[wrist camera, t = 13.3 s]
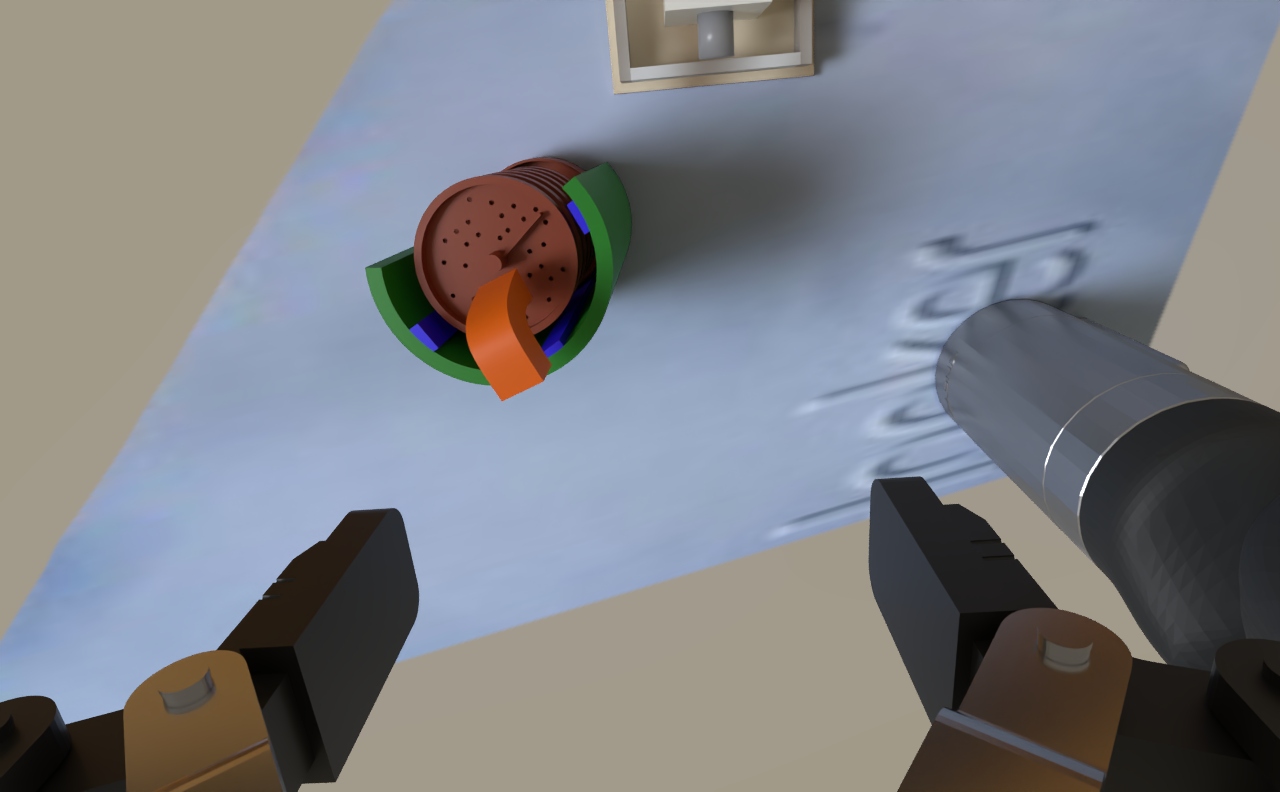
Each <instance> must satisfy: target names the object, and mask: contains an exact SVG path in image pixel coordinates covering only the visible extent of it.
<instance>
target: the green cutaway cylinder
mask: <svg viewBox="0 0 1280 792" xmlns="http://www.w3.org/2000/svg"><path fill="white" fill-rule="evenodd" d="M631 230H632V219H631V210H630V205H629V201H628V197H627V194H626V192H625V189H624V187H623V185H622V183H621V181H620V179H619V177H618V176H617V174H616V173H615V171H614V170H613V169H612V168H611V166H610V165H609V164H608V163H607V162H606V163H604V164H602V165H600V166H597V167H595V168H593V169H590V170H588V171H584V170H583V169H582V168H580V167H578V166H577V165H575V164H573V163H571V162H568V161H565V160H562V159H558V158H551V157H541V158H533V159H528V160H523V161H520V162H517V163H514V164H512V165H510V166H508V167H507V168H505V169H504V170H502V171H501V172H497V173H492V174H487V175H483V176H478V177H474V178H470V179H466V180H463V181H461V182H458V183H456V184H454V185H452V186H450V187H449V188H447V189H446V190H444V191H443V192H442V193H441V194H439V195H438V196H437V197H436V198H435V199H434V200H433V202H432V203H431V204H430V205H429V207H428V208H427V209H426V211H425V213H424V214H423V216H422V218H421V220H420V223H419V225H418V228H417V232H416V236H415V242H414V247H412V248H409V249H407V250H405V251H402V252H400V253H398V254H395V255H393V256H391V257H389V258H386V259H384V260H382V261H379V262H377V263H375V264H373V265H370V266H368V267H366V268H365V269H366V275H367V280H368V284H369V287H370V291H371V294H372V296H373V299H374V301H375V304H376V306H377V308H378V310H379V312H380V314H381V316H382V317H383V319H384V321H385V322H386V324H387V325H388V327H389V328H390V330H391V331H392V332H393V334H394V335H395V336H396V337H397V338H398V340H399V341H400V342H401V343H402V344H403V345H404V346H405V347H406V348H407V349H408V350H409V351H410V352H412V353H413V354H414V355H415V356H416V357H418V358H419V359H420V360H422V361H423V362H425V363H426V364H428V365H429V366H431V367H433V368H434V369H436V370H438V371H440V372H442V373H444V374H446V375H449V376H451V377H453V378H456V379H459V380H463V381H466V382H470V383H475V384H481V385H491V386H492V388H493V389H494V390H495V392H496V393H497V395H498V396H499V398H500V399H501V401H504V400H506V399H508V398H510V397H512V396H514V395H516V394H518V393H520V392H522V391H524V390H526V389H529V388H531V387H533V386H535V385H537V384H539V383H541V382H543V381H544V379H545V377H546V375H549V374H551V373H552V372H554V371H556V370H558V369H559V368H561V367H563V366H564V365H565V364H567V363H568V362H570V361H571V360H572V359H573V358H574V357H575V356H577V355H578V354H579V353H580V352H581V351H582V350H583V348H584V347H585V346H586V345H587V344H588V342H589V341H590V340H591V339H592V337H593V335H594V334H595V332H596V331H597V329H598V327H599V325H600V323H601V321H602V319H603V317H604V314H605V312H606V309H607V306H608V304H609V301H610V298H611V295H612V293H613V290H614V287H615V284H616V281H617V279H618V276H619V273H620V270H621V268H622V265H623V262H624V259H625V256H626V254H627V251H628V247H629V243H630V238H631ZM596 267H597V275H596V274H593V275H592V276H591V277H590V278H588V279H587V280H586V281H584V280H585V279H586V278H587V277H588V276H589V275H590V274H591V273H592V272H593V271H594V270H595V268H596ZM582 281H584V282H583V283H582V284H580V283H581V282H582ZM579 284H580V285H579Z"/></svg>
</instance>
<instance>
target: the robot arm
mask: <svg viewBox="0 0 1280 792" xmlns="http://www.w3.org/2000/svg"><path fill="white" fill-rule="evenodd" d="M935 379H936V390H937V394H938V397H939V400H940V403H941V404H942V406H943V408H944V409H945V411H946V413H947V414H948V415H949V416H950V417H951V418H952V419H953V420H954V421H955V422H956V423H957V424H958V425H959V426H960V427H961V428H962V429H963V431H964V432H965V433H966V434H967V435H968V436H969V437H970V438H971V439H972V440H973V441H974V442H975V443H976V444H977V445H978V446H979V447H980V448H981V449H982V450H983V451H984V452H985V453H986V454H987V455H988V456H989V458H990V459H991V460H992V461H993V462H994V463H995V464H996V465H997V466H998V467H999V468H1000V469H1001V470H1002V471H1003V472H1004V473H1005V474H1006V475H1007V476H1008V477H1009V478H1010V479H1011V480H1012V481H1013V482H1014V483H1015V484H1016V485H1017V486H1018V487H1019V488H1020V489H1021V490H1022V491H1023V492H1024V493H1025V494H1026V495H1027V496H1028V497H1029V498H1030V499H1031V500H1032V501H1033V502H1034V503H1035V504H1036V505H1037V506H1038V507H1039V508H1040V509H1041V510H1042V511H1043V512H1044V513H1045V514H1046V515H1047V516H1048V517H1049V518H1050V520H1051V521H1052V522H1053V523H1055V525H1056V526H1057V527H1059V529H1060V530H1061V531H1063V532H1064V533H1065V534H1066V535H1067V536H1068V537H1069V538H1070V539H1071V541H1072V542H1073V543H1074V544H1075V545H1077V547H1078V548H1079V549H1080V550H1081V551H1082V552H1083V553H1084V554H1085V555H1086V556H1087V557H1088V558H1089V559H1090V560H1091V561H1092V562H1093V563H1094V564H1095V565H1096V566H1097V567H1098V568H1099V569H1100V570H1102V572H1103V573H1104V574H1105V575H1106V576H1107V577H1108V578H1109V579H1110V580H1111V582H1112V583H1113V584H1114V585H1115V587H1116V589H1117V590H1118V591H1119V593H1120V595H1121V597H1122V598H1123V600H1124V602H1125V603H1126V605H1127V607H1128V609H1129V610H1130V612H1131V614H1132V616H1133V617H1134V619H1135V621H1136V622H1137V624H1138V626H1139V627H1140V628H1141V630H1142V632H1143V633H1144V635H1145V636H1146V638H1147V639H1148V640H1149V642H1150V643H1151V644H1152V646H1153V647H1154V648H1155V650H1156V651H1157V652H1158V654H1159V655H1160V656H1161V657H1162V658H1163V660H1164V661H1165V662H1166V663H1167V664H1162V663H1156V662H1150V661H1146V660H1141V659H1137V658H1133V657H1132V656H1131V653H1130V651H1129V649H1128V647H1127V646H1126V645H1125V643H1124V642H1123V641H1122V640H1121V639H1120V638H1119V637H1118V636H1117V635H1116V634H1115V633H1114V632H1112V631H1111V630H1109V629H1108V628H1107V627H1105V626H1103V625H1101V624H1100V623H1097V622H1096V621H1094V620H1092V619H1089V618H1087V617H1085V616H1082V615H1079V614H1076V613H1073V612H1069V611H1064V610H1059V609H1058V608H1057V607H1056V606H1055V605H1054V603H1053V602H1052V601H1051V600H1050V598H1049V597H1048V596H1047V595H1046V593H1045V592H1044V591H1043V590H1042V589H1041V587H1040V586H1039V585H1038V584H1037V583H1036V581H1035V580H1034V579H1033V578H1032V576H1031V575H1030V574H1029V573H1028V572H1027V570H1026V569H1025V568H1024V567H1023V565H1022V564H1021V563H1020V562H1019V561H1018V559H1014V554H1013V553H1012V552H1011V551H1010V549H1009V548H1008V547H1007V546H1006V545H1005V543H1001V539H1000V537H999V536H998V535H997V534H996V532H995V531H994V530H993V529H992V528H991V527H990V525H989V524H988V523H987V521H986V520H985V519H983V518H981V517H980V516H978V515H976V514H975V513H973V512H971V511H969V510H968V509H966V508H964V507H963V506H961V505H959V504H949V505H943V504H942V503H941V501H940V500H939V499H938V497H937V496H936V494H935V493H934V492H933V490H932V489H931V488H930V486H929V485H928V484H927V482H926V481H925V480H924V479H923V478H922V477H903V478H887V479H875V480H874V481H873V483H872V487H871V500H870V533H869V574H870V580H871V586H872V590H873V594H874V597H875V599H876V602H877V604H878V606H879V609H880V611H881V613H882V615H883V617H884V619H885V622H886V624H887V626H888V629H889V631H890V633H891V635H892V637H893V640H894V642H895V644H896V646H897V648H898V651H899V653H900V655H901V657H902V659H903V662H904V664H905V666H906V668H907V671H908V673H909V675H910V677H911V680H912V682H913V684H914V686H915V688H916V691H917V693H918V695H919V697H920V700H921V702H922V704H923V706H924V708H925V711H926V713H927V715H928V717H929V720H930V722H931V724H932V726H931V728H930V730H929V731H928V733H927V736H926V737H925V739H924V741H923V743H922V745H921V747H920V749H919V751H918V753H917V754H916V756H915V758H914V760H913V762H912V764H911V766H910V768H909V770H908V772H907V774H906V776H905V777H904V779H903V781H902V783H901V785H900V787H899V789H898V791H897V792H1280V412H1277V411H1275V410H1273V409H1271V408H1269V407H1266V406H1264V405H1261V404H1259V403H1257V402H1255V401H1253V400H1251V399H1249V398H1247V397H1244V396H1242V395H1240V394H1238V393H1236V392H1234V391H1231V390H1229V389H1227V388H1225V387H1223V386H1221V385H1218V384H1216V383H1215V382H1212V381H1210V380H1208V379H1205V378H1203V377H1201V376H1199V375H1197V374H1194V373H1192V372H1190V371H1189V368H1188V367H1187V365H1186V364H1184V363H1183V362H1181V361H1178V360H1176V359H1174V358H1172V357H1170V356H1168V355H1165V354H1163V353H1161V352H1159V351H1157V350H1154V349H1152V348H1150V347H1148V346H1146V345H1144V344H1141V343H1139V342H1137V341H1135V340H1133V339H1130V338H1128V337H1126V336H1124V335H1122V334H1119V333H1117V332H1115V331H1113V330H1111V329H1109V328H1106V327H1104V326H1102V325H1100V324H1098V323H1095V322H1093V321H1091V320H1089V319H1087V318H1076V317H1074V316H1072V315H1070V314H1067V313H1065V312H1063V311H1061V310H1059V309H1057V308H1055V307H1052V306H1050V305H1047V304H1044V303H1042V302H1039V301H1032V300H1025V299H1023V300H1008V301H1004V302H1000V303H997V304H993V305H990V306H988V307H986V308H984V309H982V310H980V311H978V312H976V313H975V314H973V315H972V316H971V317H969V318H968V319H966V320H965V321H964V322H963V323H962V324H961V325H960V326H959V327H958V328H957V329H956V330H955V331H954V332H953V333H952V334H951V336H950V337H949V339H948V340H947V342H946V344H945V345H944V347H943V349H942V352H941V354H940V357H939V359H938V362H937V368H936V374H935ZM418 606H419V589H418V583H417V578H416V574H415V570H414V565H413V561H412V556H411V552H410V548H409V543H408V539H407V534H406V530H405V526H404V522H403V518H402V516H401V514H400V512H399V511H398V510H397V509H395V508H388V509H372V510H356V511H351V512H349V513H348V514H347V515H346V516H345V517H344V519H343V520H342V521H341V522H340V524H339V525H338V526H337V527H336V529H335V530H334V531H333V532H332V534H331V535H330V536H329V537H328V538H327V540H326V541H319V542H318V543H316V544H315V545H313V546H312V547H310V548H309V549H308V550H306V551H305V552H303V553H302V554H300V555H299V556H297V557H296V558H294V559H293V560H292V561H291V563H290V564H289V565H288V566H287V567H286V568H285V570H284V571H283V572H282V573H281V574H280V576H279V577H278V578H277V582H276V583H273V584H272V585H271V586H270V587H269V589H268V590H267V591H266V592H265V593H264V594H263V599H262V600H258V602H257V603H256V604H255V605H254V606H253V607H252V609H251V610H250V611H249V612H248V613H247V615H246V616H245V617H244V618H243V619H242V620H241V622H240V623H239V624H238V625H237V626H236V628H235V629H234V630H233V631H232V632H231V633H230V635H229V636H228V637H227V638H226V639H225V641H224V642H223V643H222V644H221V645H220V646H219V648H218V649H217V650H215V651H208V652H202V653H199V654H195V655H192V656H189V657H186V658H183V659H181V660H179V661H176V662H174V663H172V664H170V665H168V666H166V667H164V668H163V669H161V670H159V671H158V672H156V673H155V674H153V675H152V676H150V677H149V678H148V679H147V680H145V681H144V682H143V683H142V684H141V685H140V686H139V687H137V689H136V690H135V691H134V692H133V693H132V694H131V696H130V697H129V699H128V700H127V702H126V704H125V707H124V709H122V710H119V711H115V712H111V713H107V714H104V715H100V716H96V717H92V718H89V719H85V720H81V721H77V722H73V723H70V724H66V725H65V723H64V721H63V719H62V717H61V715H60V712H59V710H58V708H57V706H56V704H55V702H54V701H53V700H52V699H50V698H48V697H44V696H26V697H19V698H15V699H11V700H7V701H4V702H1V703H0V792H298V790H299V788H300V786H301V784H305V783H329V782H336V780H337V778H338V776H339V774H340V772H341V770H342V768H343V766H344V764H345V762H346V760H347V758H348V756H349V754H350V752H351V750H352V748H353V746H354V744H355V742H356V740H357V738H358V736H359V734H360V732H361V730H362V728H363V726H364V724H365V722H366V720H367V718H368V716H369V714H370V712H371V710H372V708H373V706H374V703H375V702H376V700H377V697H378V696H379V693H380V691H381V689H382V687H383V685H384V683H385V681H386V679H387V677H388V675H389V673H390V671H391V669H392V667H393V665H394V663H395V661H396V659H397V657H398V655H399V653H400V651H401V649H402V647H403V645H404V643H405V641H406V639H407V637H408V635H409V633H410V631H411V629H412V627H413V625H414V623H415V620H416V617H417V613H418Z"/></svg>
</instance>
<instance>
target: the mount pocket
mask: <svg viewBox="0 0 1280 792" xmlns="http://www.w3.org/2000/svg"><path fill="white" fill-rule="evenodd" d="M606 12H607V23H608V34H609V45H610V56H611V67H612V78H613V89H614V94H623V93H634V92H644V91H655V90H666V89H677V88H687V87H698V86H709V85H719V84H730V83H741V82H752V81H762V80H773V79H784V78H794V77H805V76H813V75H814V0H772V2H771V3H770V5H769V6H768V7H767V8H766V9H765V10H764V11H763V12H762V13H761V15H760V16H759V17H758V18H757V19H750V20H738V21H733V22H734V56H733V57H728V58H720V59H707V60H701V59H699V51H698V27H697V24H692V25H680V26H669V27H665V24H664V6H663V0H606Z"/></svg>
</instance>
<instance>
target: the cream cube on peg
mask: <svg viewBox="0 0 1280 792" xmlns="http://www.w3.org/2000/svg"><path fill="white" fill-rule="evenodd" d="M771 2H772V0H663V6H664V24H665V27H669V26H680V25H692V24H697V27H698V51H699V59H701V60H707V59H720V58H728V57H733V56H734V22H733V21H738V20H750V19H757V18H758V17H759V16H760V15H761V13H762V12H763V11H764V10H765V9H766V8H767V7H768V6H769V5H770V3H771Z"/></svg>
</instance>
